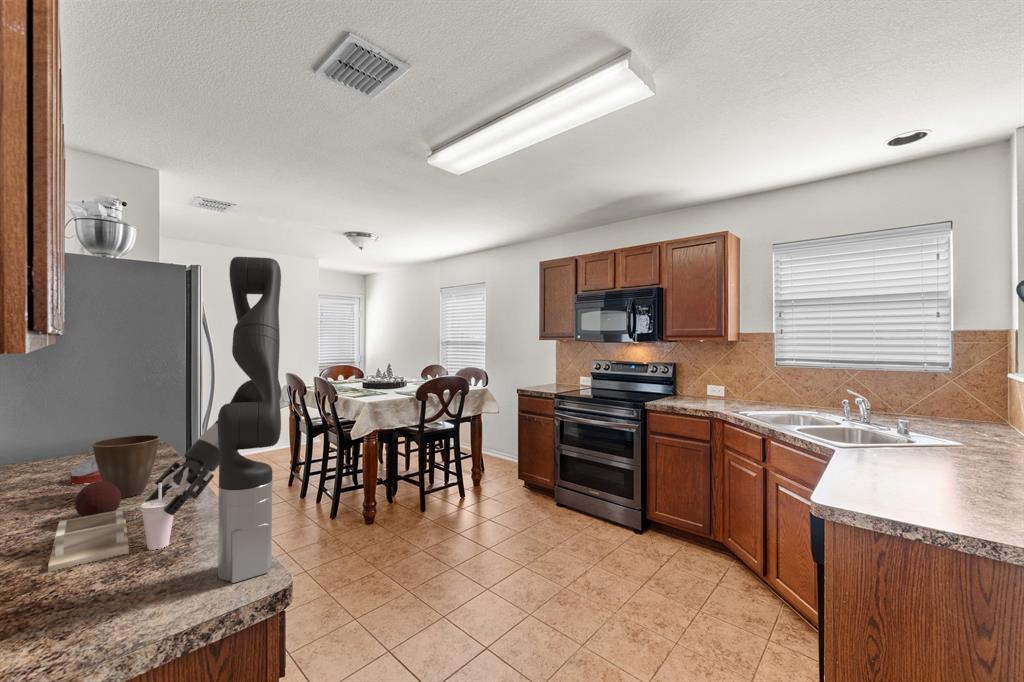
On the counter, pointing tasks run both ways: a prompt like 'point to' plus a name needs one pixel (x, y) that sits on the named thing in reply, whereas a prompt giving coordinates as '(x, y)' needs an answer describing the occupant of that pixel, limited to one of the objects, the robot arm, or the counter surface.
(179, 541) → the counter surface
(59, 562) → the dock
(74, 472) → the canned food
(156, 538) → the smoothie
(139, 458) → the plant pot
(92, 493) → the potato
